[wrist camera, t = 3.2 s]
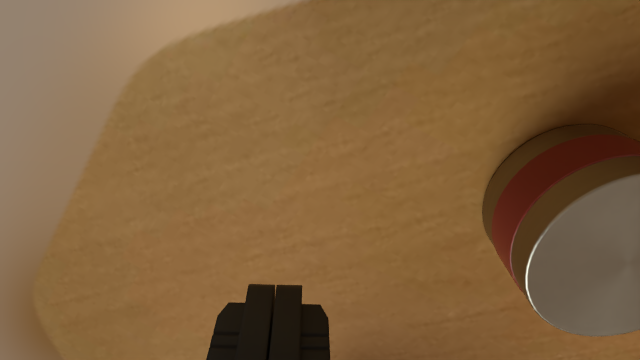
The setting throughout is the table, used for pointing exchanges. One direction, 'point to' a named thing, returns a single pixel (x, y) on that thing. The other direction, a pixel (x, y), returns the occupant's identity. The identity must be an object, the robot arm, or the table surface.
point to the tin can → (572, 227)
